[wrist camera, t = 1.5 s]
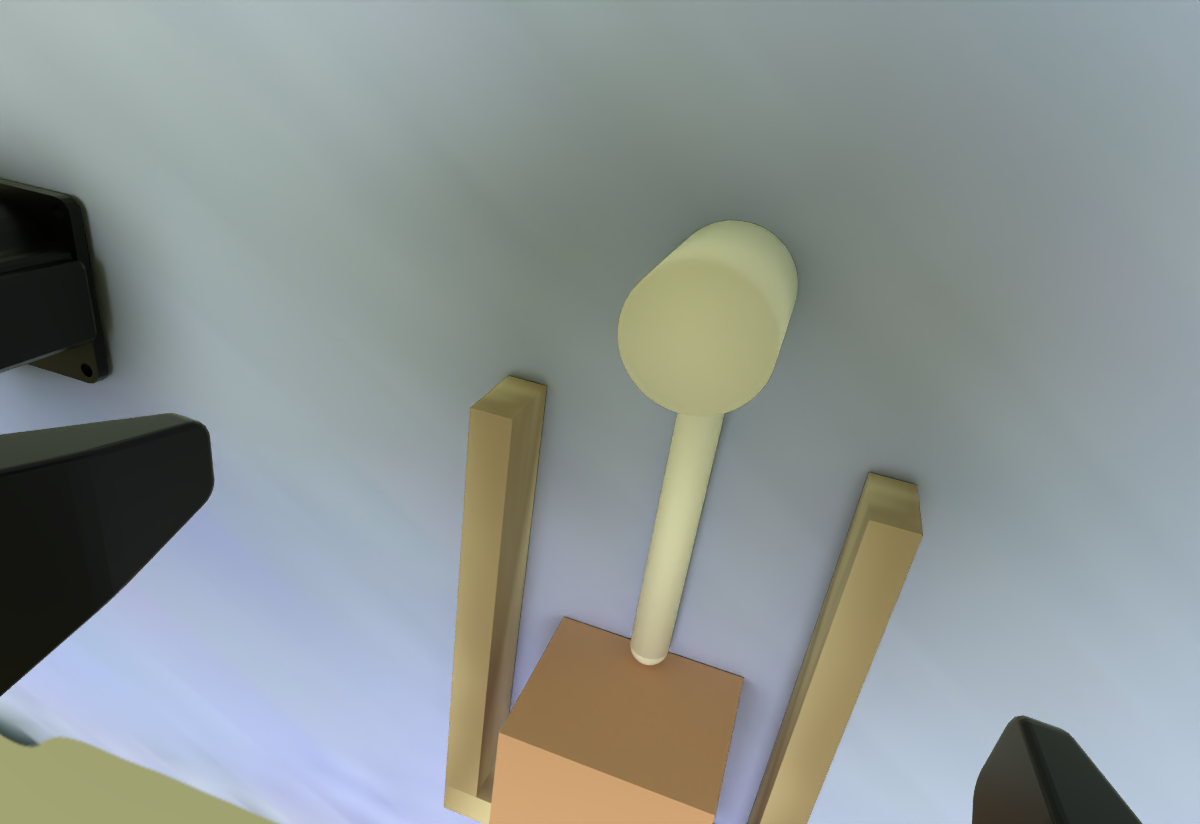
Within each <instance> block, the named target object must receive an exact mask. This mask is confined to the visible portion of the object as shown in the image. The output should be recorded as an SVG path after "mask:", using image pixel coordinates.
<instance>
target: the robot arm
mask: <svg viewBox="0 0 1200 824" xmlns="http://www.w3.org/2000/svg"><path fill="white" fill-rule="evenodd" d="M25 364H30V365H33V366H36V367H39V368H42V369H46V370H49V371H52V372H55V373H58V374H62V375H65V376H68V377H71V378H74V379H78V380H81V381H84V382H87V383H96V382H98V381H101V380H103V379H105V378H107V376H108V366H107V360H106V354H105V348H104V343H103V337H102V331H101V325H100V319H99V313H98V307H97V301H96V296H95V290H94V284H93V278H92V272H91V266H90V260H89V254H88V249H87V243H86V237H85V231H84V225H83V219H82V213H81V210H80V207H79V206H78V204H77V202H76V201H75V200H74V199H73V198H72V197H70V196H68V195H65V194H61V193H57V192H53V191H49V190H45V189H41V188H37V187H33V186H29V185H24V184H20V183H16V182H12V181H8V180H4V179H0V373H1V372H4V371H7V370H10V369H13V368H16V367H19V366H22V365H25ZM213 487H214V472H213V462H212V452H211V442H210V435H209V432H208V430H207V428H206V426H205V425H203V424H202V423H201V422H199V421H196V420H193V419H190V418H188V417H185V416H182V415H179V414H173V413H166V414H158V415H151V416H143V417H135V418H127V419H119V420H112V421H104V422H96V423H88V424H80V425H73V426H65V427H57V428H49V429H42V430H34V431H26V432H18V433H10V434H3V435H0V696H2V695H3V694H4V693H5V692H6V691H7V690H8V689H10V688H11V687H12V686H13V685H14V684H15V683H17V682H18V681H19V680H20V679H21V678H22V677H23V676H25V675H26V674H27V673H28V672H29V671H30V670H31V669H33V668H34V667H35V666H36V665H37V664H38V663H39V662H41V661H42V660H43V659H44V658H45V657H46V656H47V655H49V654H50V653H51V652H52V651H53V650H54V649H56V648H57V647H58V646H59V645H60V644H61V643H62V642H64V641H65V640H66V639H67V638H68V637H69V636H70V635H72V634H73V633H74V632H75V631H76V630H77V629H78V628H80V627H81V626H82V625H83V624H84V623H85V622H86V621H88V620H89V619H90V618H91V617H92V616H93V615H95V614H96V613H97V612H98V611H99V610H100V609H101V608H102V607H103V606H105V605H106V604H107V603H108V602H109V601H110V600H111V599H112V598H113V597H114V596H115V595H116V594H117V593H118V592H119V591H120V590H122V589H123V588H124V587H125V586H126V585H127V584H128V583H129V582H130V581H131V580H132V579H133V577H134V576H135V575H136V574H137V573H138V572H139V571H140V570H141V569H142V568H143V567H144V566H145V565H146V564H147V563H148V562H149V561H150V560H151V559H152V558H153V557H154V556H155V555H156V554H157V553H158V552H159V551H160V549H161V548H162V547H163V546H164V545H165V544H166V543H167V542H168V541H169V540H170V539H171V538H172V537H173V536H174V535H175V534H176V533H177V532H178V531H179V530H180V529H181V528H182V527H183V526H184V525H185V524H186V523H187V521H188V520H189V519H190V518H191V517H192V516H193V515H194V514H195V513H196V512H197V511H198V510H199V509H200V508H201V507H202V506H203V505H204V504H205V503H206V501H207V500H208V499H209V497H210V495H211V493H212V491H213ZM972 824H1142V822H1141V821H1140V820H1139V819H1138V817H1137V816H1136V815H1135V814H1134V813H1133V811H1132V810H1131V809H1130V808H1129V806H1128V805H1127V804H1126V803H1125V801H1124V800H1123V799H1122V798H1121V796H1120V795H1119V794H1118V793H1117V791H1116V790H1115V789H1114V788H1113V786H1112V785H1111V784H1110V783H1109V781H1108V780H1107V779H1106V778H1105V777H1104V775H1103V774H1102V773H1101V772H1100V770H1099V769H1098V768H1097V767H1096V765H1095V764H1094V763H1093V762H1092V760H1091V759H1090V758H1089V757H1088V755H1087V754H1086V753H1085V752H1084V750H1083V749H1082V748H1081V747H1080V745H1079V744H1078V743H1077V742H1076V741H1075V739H1074V738H1073V737H1072V736H1071V735H1070V734H1069V733H1067V732H1066V731H1064V730H1063V729H1060V728H1058V727H1055V726H1052V725H1049V724H1047V723H1044V722H1041V721H1038V720H1035V719H1032V718H1030V717H1027V716H1017V717H1014V718H1013V719H1012V720H1011V721H1010V722H1009V723H1008V725H1007V726H1006V728H1005V729H1004V731H1003V733H1002V735H1001V736H1000V738H999V740H998V742H997V743H996V745H995V747H994V749H993V750H992V752H991V754H990V756H989V757H988V759H987V761H986V763H985V765H984V766H983V768H982V770H981V772H980V774H979V776H978V779H977V782H976V786H975V790H974V797H973V814H972Z"/></svg>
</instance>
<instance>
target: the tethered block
mask: <svg viewBox="0 0 1200 824" xmlns="http://www.w3.org/2000/svg"><path fill="white" fill-rule="evenodd" d="M797 292H798V277H797V271H796V267H795V264H794V261H793V259H792V257H791V255H790V253H789V251H788V250H787V248H786V247H785V246H784V244H783V243H782V242H781V241H780V240H779V239H778V238H777V237H776V236H775V235H773V234H772V233H771V232H769V231H768V230H766V229H764V228H763V227H760V226H758V225H756V224H753V223H749V222H745V221H738V220H728V221H721V222H716V223H713V224H710V225H708V226H705V227H703V228H701V229H700V230H698V231H696V232H695V233H694V234H692V235H691V236H690V237H689V238H688V239H686V240H685V241H684V242H683V243H682V244H681V245H680V246H679V247H678V248H676V249H675V250H674V251H673V252H672V253H671V254H670V255H669V256H668V257H666V258H665V259H664V260H663V261H662V262H661V263H660V264H659V265H658V266H656V267H655V268H654V269H653V270H652V271H651V272H650V273H649V274H648V275H646V276H645V277H644V278H643V279H642V280H641V281H640V282H639V283H638V284H637V285H636V286H635V287H634V289H633V290H632V291H631V293H630V294H629V296H628V297H627V299H626V301H625V303H624V305H623V308H622V311H621V313H620V318H619V322H618V332H617V334H618V346H619V352H620V355H621V359H622V362H623V364H624V366H625V368H626V371H627V372H628V374H629V376H630V377H631V379H632V380H633V382H634V383H635V384H636V386H637V387H638V388H639V389H640V390H641V391H642V392H643V393H644V394H645V395H646V396H648V397H649V398H650V399H651V400H653V401H654V402H656V403H657V404H659V405H661V406H662V407H665V408H667V409H669V410H671V411H674V412H677V417H676V422H675V427H674V432H673V437H672V441H671V446H670V451H669V456H668V461H667V466H666V471H665V475H664V480H663V485H662V490H661V495H660V500H659V505H658V510H657V514H656V519H655V524H654V529H653V534H652V539H651V544H650V549H649V553H648V558H647V563H646V568H645V573H644V578H643V583H642V588H641V592H640V597H639V602H638V607H637V612H636V617H635V622H634V627H633V631H632V636H631V640H630V639H628V638H625V637H622V636H619V635H616V634H613V633H610V632H607V631H604V630H601V629H598V628H595V627H592V626H589V625H586V624H583V623H580V622H577V621H575V620H572V619H569V618H566V617H564V618H563V619H562V621H561V623H560V625H559V627H558V628H557V630H556V632H555V634H554V635H553V637H552V639H551V641H550V643H549V644H548V646H547V648H546V650H545V651H544V653H543V655H542V657H541V659H540V660H539V662H538V664H537V666H536V668H535V669H534V671H533V673H532V675H531V676H530V678H529V680H528V682H527V684H526V685H525V687H524V689H523V691H522V692H521V694H520V696H519V698H518V700H517V701H516V703H515V705H514V707H513V708H512V710H511V712H510V714H509V716H508V717H507V719H506V721H505V723H504V724H503V726H502V728H501V730H500V732H499V737H498V746H497V755H496V764H495V774H494V783H493V792H492V801H491V810H490V819H489V824H713V821H714V818H715V815H716V810H717V805H718V800H719V795H720V790H721V786H722V781H723V776H724V771H725V766H726V761H727V756H728V752H729V747H730V742H731V737H732V732H733V727H734V722H735V718H736V713H737V708H738V703H739V698H740V693H741V688H742V684H743V679H744V678H742V677H739V676H736V675H734V674H731V673H728V672H725V671H722V670H719V669H716V668H713V667H710V666H707V665H704V664H701V663H698V662H695V661H692V660H689V659H686V658H683V657H681V656H678V655H675V654H672V653H669V652H668V651H669V646H670V642H671V638H672V634H673V629H674V625H675V621H676V617H677V613H678V608H679V604H680V600H681V596H682V592H683V587H684V583H685V579H686V575H687V570H688V566H689V562H690V558H691V554H692V549H693V545H694V541H695V537H696V532H697V528H698V524H699V520H700V516H701V511H702V507H703V503H704V499H705V494H706V490H707V486H708V482H709V478H710V473H711V469H712V465H713V461H714V456H715V452H716V448H717V444H718V440H719V435H720V431H721V427H722V423H723V419H724V414H725V413H727V412H730V411H733V410H735V409H737V408H739V407H741V406H743V405H744V404H746V403H747V402H749V401H750V400H751V399H752V398H754V397H755V396H756V395H757V394H758V393H759V392H760V391H761V390H762V389H763V387H764V386H765V384H766V383H767V381H768V380H769V378H770V376H771V374H772V372H773V370H774V367H775V364H776V361H777V358H778V355H779V352H780V349H781V345H782V342H783V339H784V336H785V333H786V330H787V327H788V324H789V320H790V317H791V314H792V311H793V308H794V305H795V302H796V297H797Z"/></svg>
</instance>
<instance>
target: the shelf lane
mask: <svg viewBox="0 0 1200 824" xmlns="http://www.w3.org/2000/svg"><path fill="white" fill-rule="evenodd" d="M546 391H547V386H545V385H541V384H537V383H534V382H530V381H526V380H522V379H519V378H515V377H511V376H508V377H507V378H505V379H504V380H503V381H502V382H501V383H499V384H498V385H497V386H496V387H495V388H493V389H492V390H491V391H490V392H489V393H487V394H486V395H485V396H484V397H483V398H481V399H480V400H479V401H478V402H477V403H475V404H474V405H473V406H472V407H471V408H470V421H469V436H468V451H467V466H466V481H465V496H464V511H463V526H462V541H461V556H460V571H459V586H458V601H457V616H456V631H455V646H454V661H453V676H452V691H451V706H450V721H449V736H448V751H447V766H446V781H445V796H444V807H445V808H447V809H449V810H452V811H454V812H457V813H459V814H461V815H464V816H466V817H469V818H471V819H474V820H476V821H478V822H481V823H483V824H489V819H490V810H491V801H492V792H493V783H494V774H495V764H496V755H497V746H498V737H499V732H500V730H501V728H502V726H503V724H504V723H505V721H506V719H507V717H508V716H509V709H510V701H511V692H512V684H513V675H514V666H515V658H516V649H517V641H518V632H519V623H520V615H521V606H522V598H523V589H524V580H525V572H526V563H527V554H528V546H529V537H530V529H531V520H532V511H533V503H534V494H535V486H536V477H537V468H538V460H539V451H540V443H541V434H542V425H543V417H544V408H545V400H546ZM922 536H923V531H922V523H921V514H920V506H919V498H918V490H917V485H914V484H911V483H907V482H903V481H899V480H896V479H892V478H888V477H884V476H881V475H877V474H873V473H869V474H868V477H867V479H866V482H865V485H864V488H863V491H862V494H861V497H860V500H859V502H858V505H857V508H856V511H855V514H854V517H853V520H852V523H851V526H850V528H849V531H848V534H847V537H846V540H845V543H844V546H843V549H842V551H841V554H840V557H839V560H838V563H837V566H836V569H835V572H834V574H833V577H832V580H831V583H830V586H829V589H828V592H827V595H826V598H825V600H824V603H823V606H822V609H821V612H820V615H819V618H818V621H817V623H816V626H815V629H814V632H813V635H812V638H811V641H810V644H809V646H808V649H807V652H806V655H805V658H804V661H803V664H802V667H801V670H800V672H799V675H798V678H797V681H796V684H795V687H794V690H793V693H792V695H791V698H790V701H789V704H788V707H787V710H786V713H785V716H784V718H783V721H782V724H781V727H780V730H779V733H778V736H777V739H776V742H775V744H774V747H773V750H772V753H771V756H770V759H769V762H768V765H767V767H766V770H765V773H764V776H763V779H762V782H761V785H760V788H759V790H758V793H757V796H756V799H755V802H754V805H753V808H752V811H751V814H750V816H749V819H748V822H747V824H807V822H808V820H809V817H810V815H811V812H812V810H813V807H814V805H815V802H816V800H817V797H818V795H819V792H820V790H821V787H822V785H823V782H824V780H825V777H826V775H827V772H828V770H829V767H830V765H831V762H832V760H833V757H834V755H835V752H836V750H837V748H838V745H839V743H840V740H841V738H842V735H843V733H844V730H845V728H846V725H847V723H848V720H849V718H850V715H851V713H852V710H853V708H854V705H855V703H856V700H857V698H858V695H859V693H860V690H861V688H862V685H863V683H864V680H865V678H866V675H867V673H868V670H869V668H870V666H871V663H872V661H873V658H874V656H875V653H876V651H877V648H878V646H879V643H880V641H881V638H882V636H883V633H884V631H885V628H886V626H887V623H888V621H889V618H890V616H891V613H892V611H893V608H894V606H895V603H896V601H897V598H898V596H899V593H900V591H901V588H902V586H903V584H904V581H905V579H906V576H907V574H908V571H909V569H910V566H911V564H912V561H913V559H914V556H915V554H916V551H917V549H918V546H919V544H920V541H921V539H922Z"/></svg>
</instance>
